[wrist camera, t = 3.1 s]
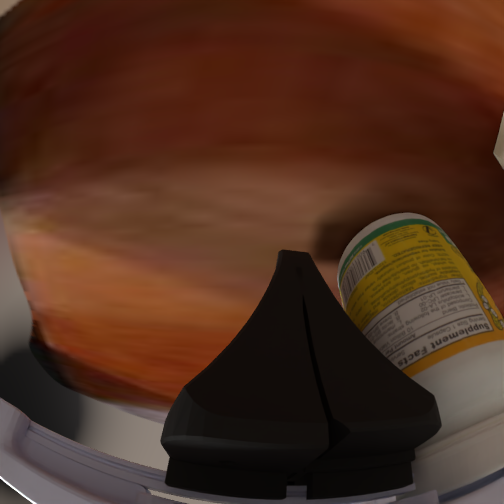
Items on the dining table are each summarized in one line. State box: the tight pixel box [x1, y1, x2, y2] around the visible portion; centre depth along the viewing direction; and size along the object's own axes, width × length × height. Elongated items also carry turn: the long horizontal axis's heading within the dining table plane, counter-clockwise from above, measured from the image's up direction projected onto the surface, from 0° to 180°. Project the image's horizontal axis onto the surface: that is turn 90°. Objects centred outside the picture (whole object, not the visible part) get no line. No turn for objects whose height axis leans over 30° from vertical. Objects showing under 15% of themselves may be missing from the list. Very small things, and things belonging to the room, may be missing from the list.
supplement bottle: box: [337, 212, 504, 501], centre depth 8 cm, size 5×5×10 cm
